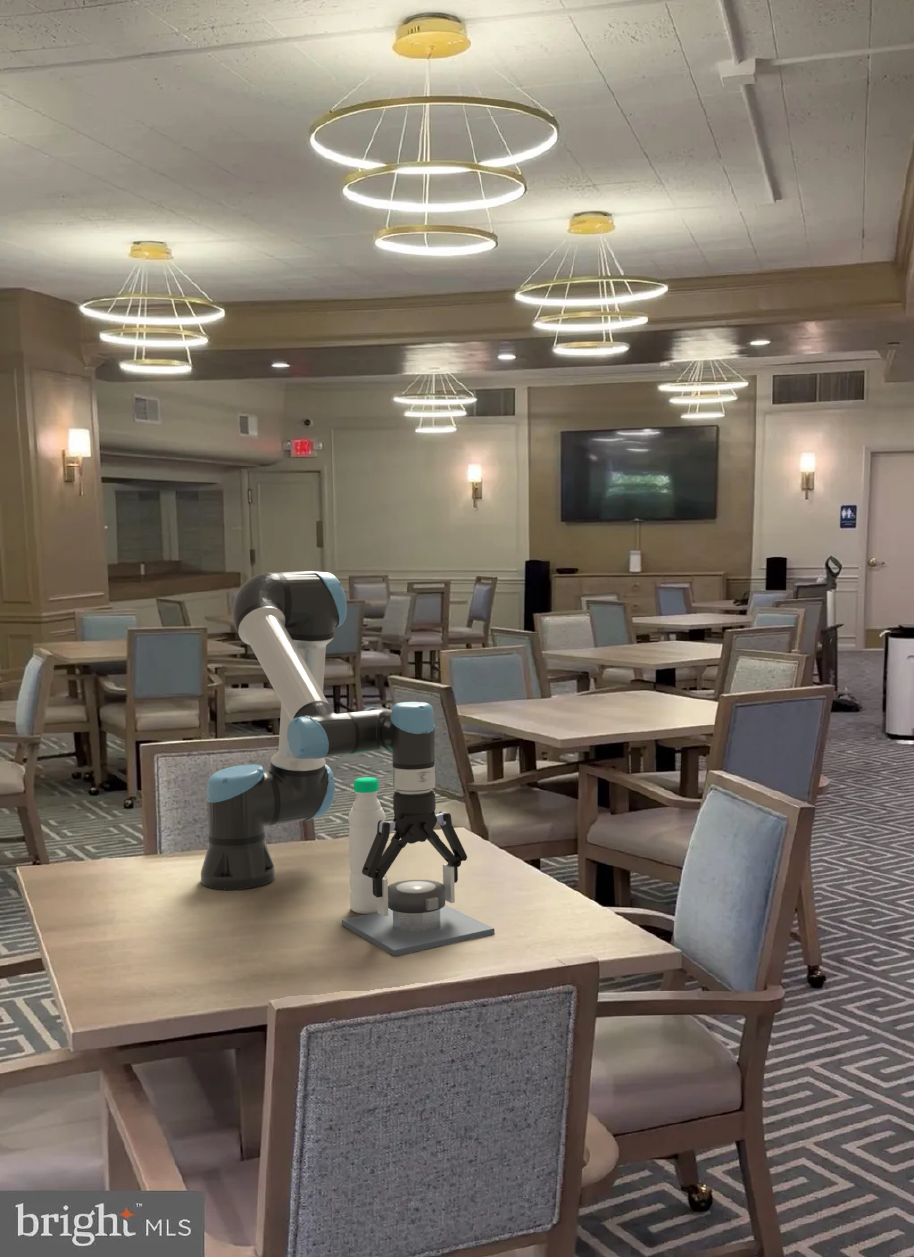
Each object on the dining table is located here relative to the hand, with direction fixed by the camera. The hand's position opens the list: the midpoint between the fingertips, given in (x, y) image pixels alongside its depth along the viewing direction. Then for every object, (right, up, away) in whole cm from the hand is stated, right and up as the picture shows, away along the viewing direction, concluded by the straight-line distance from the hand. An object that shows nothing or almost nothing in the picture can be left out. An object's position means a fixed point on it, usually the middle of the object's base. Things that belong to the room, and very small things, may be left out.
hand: (416, 907), depth 203 cm
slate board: (0, -4, 0) cm, 4 cm away
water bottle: (-9, -4, +13) cm, 16 cm away
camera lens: (0, -2, 0) cm, 2 cm away
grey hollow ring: (0, -4, 0) cm, 4 cm away
